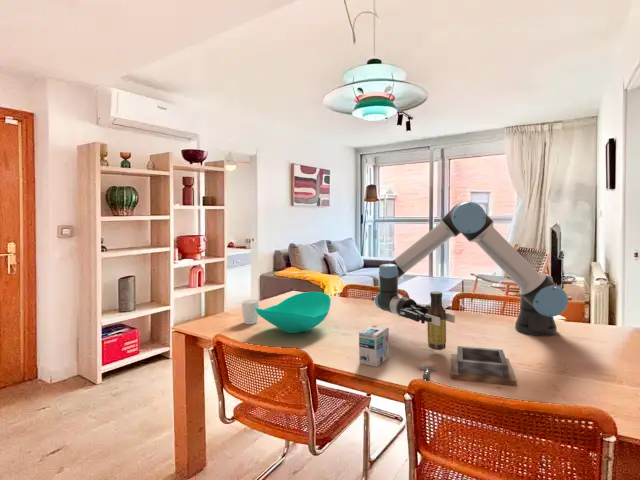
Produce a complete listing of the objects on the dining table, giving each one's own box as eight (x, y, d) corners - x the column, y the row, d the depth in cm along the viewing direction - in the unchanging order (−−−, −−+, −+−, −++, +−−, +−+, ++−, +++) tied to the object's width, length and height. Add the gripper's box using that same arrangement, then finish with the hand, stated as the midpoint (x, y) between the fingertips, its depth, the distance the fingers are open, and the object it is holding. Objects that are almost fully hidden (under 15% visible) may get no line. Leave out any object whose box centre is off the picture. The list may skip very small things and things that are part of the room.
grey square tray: (508, 363, 134) (508, 348, 133) (516, 385, 117) (516, 368, 116) (451, 357, 139) (451, 343, 139) (450, 378, 122) (450, 362, 122)
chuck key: (420, 368, 131) (420, 362, 131) (436, 369, 130) (436, 363, 129) (417, 379, 122) (417, 373, 122) (434, 381, 121) (434, 375, 121)
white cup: (239, 324, 187) (238, 302, 186) (248, 319, 194) (247, 299, 193) (253, 325, 184) (253, 303, 183) (262, 321, 191) (262, 300, 191)
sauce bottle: (432, 343, 148) (432, 289, 147) (449, 347, 144) (449, 291, 143) (424, 348, 143) (424, 292, 142) (440, 351, 139) (440, 294, 138)
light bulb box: (377, 367, 132) (376, 335, 132) (358, 363, 136) (358, 332, 135) (389, 357, 142) (389, 326, 141) (371, 353, 145) (371, 324, 144)
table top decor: (295, 316, 199) (295, 289, 198) (345, 323, 184) (345, 294, 183) (239, 338, 165) (238, 306, 164) (294, 350, 151) (293, 315, 150)
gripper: (422, 312, 163) (467, 326, 143) (384, 320, 155) (425, 335, 134) (422, 294, 163) (467, 305, 142) (383, 300, 154) (425, 313, 134)
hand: (446, 320), depth 138 cm, fingers closed on sauce bottle, 6 cm apart
